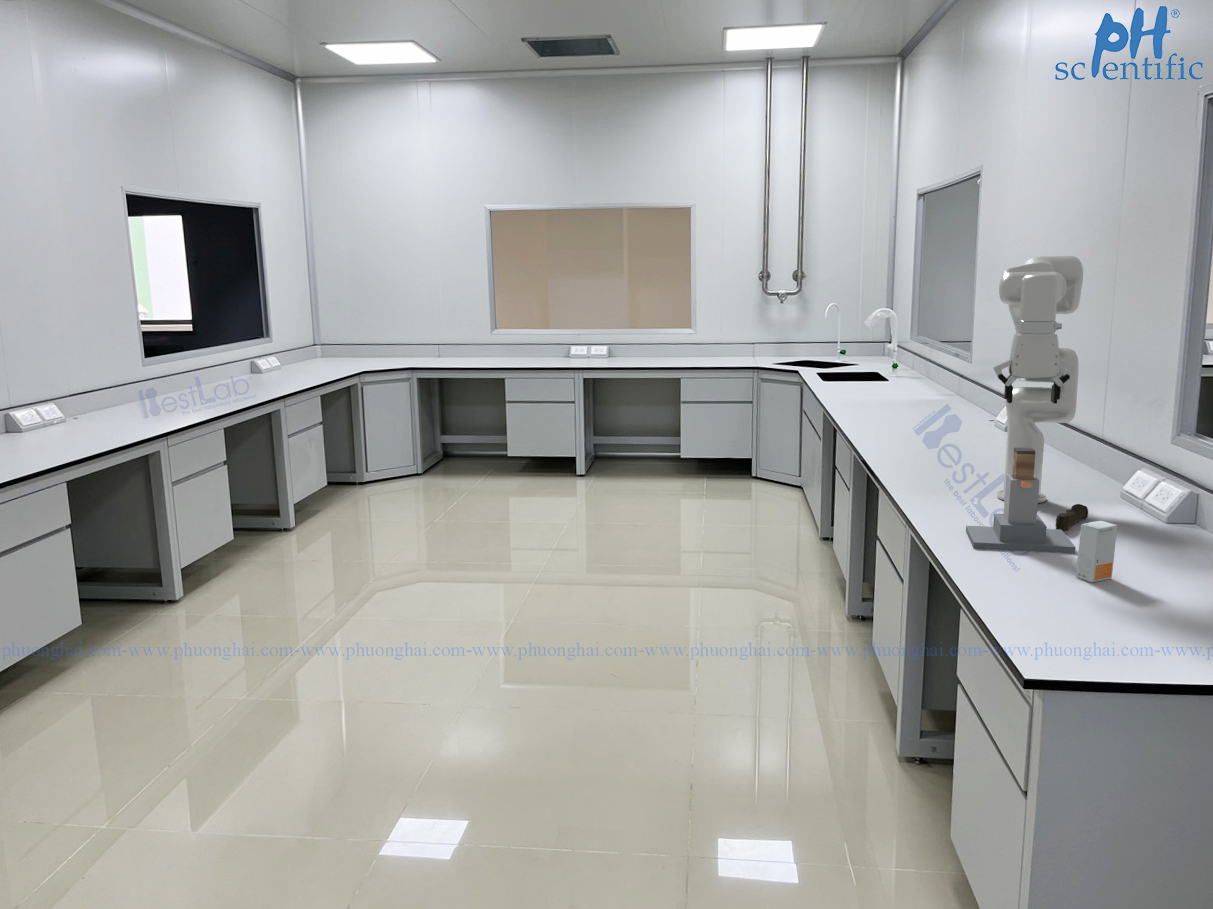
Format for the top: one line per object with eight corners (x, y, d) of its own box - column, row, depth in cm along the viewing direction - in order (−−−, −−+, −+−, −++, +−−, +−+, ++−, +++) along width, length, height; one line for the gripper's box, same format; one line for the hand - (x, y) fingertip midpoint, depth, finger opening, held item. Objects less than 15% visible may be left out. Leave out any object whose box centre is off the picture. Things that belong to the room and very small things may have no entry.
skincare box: (1092, 583, 193) (1097, 528, 191) (1075, 577, 197) (1080, 523, 195) (1113, 579, 196) (1118, 524, 193) (1095, 573, 200) (1100, 519, 197)
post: (1009, 515, 223) (1013, 447, 220) (1027, 515, 222) (1032, 447, 219) (1012, 519, 219) (1016, 450, 216) (1030, 520, 218) (1035, 451, 215)
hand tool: (1071, 517, 242) (1073, 500, 241) (1088, 519, 239) (1089, 502, 238) (1044, 533, 229) (1045, 515, 228) (1061, 536, 226) (1063, 518, 225)
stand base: (965, 531, 231) (969, 469, 228) (1061, 535, 226) (1066, 472, 223) (973, 548, 218) (977, 482, 215) (1074, 553, 213) (1080, 486, 209)
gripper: (1073, 326, 212) (1067, 400, 216) (993, 327, 216) (988, 399, 220) (1082, 329, 205) (1075, 405, 209) (999, 330, 209) (994, 404, 213)
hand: (1031, 402), depth 214 cm, fingers open, 9 cm apart
